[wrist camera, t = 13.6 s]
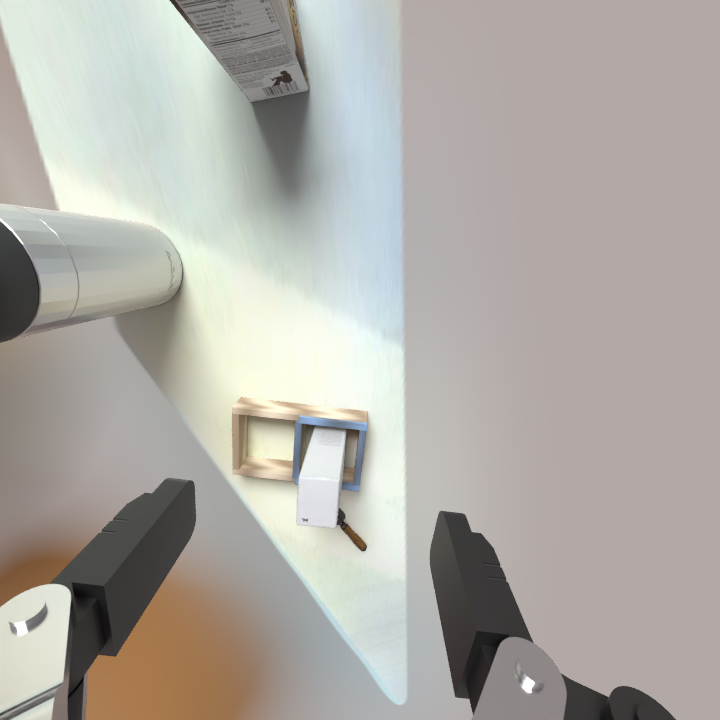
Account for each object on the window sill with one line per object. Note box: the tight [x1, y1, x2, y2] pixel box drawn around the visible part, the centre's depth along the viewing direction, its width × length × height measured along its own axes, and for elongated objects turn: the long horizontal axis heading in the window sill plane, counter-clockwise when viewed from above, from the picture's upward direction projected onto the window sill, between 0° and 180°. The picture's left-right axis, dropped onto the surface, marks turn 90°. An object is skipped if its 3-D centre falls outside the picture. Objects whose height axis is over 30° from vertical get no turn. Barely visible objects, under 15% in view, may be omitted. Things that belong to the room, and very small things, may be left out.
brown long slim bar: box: [337, 508, 367, 551], centre depth 48 cm, size 9×2×1 cm, turn 30°
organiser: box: [232, 397, 368, 491], centre depth 42 cm, size 16×10×4 cm, turn 84°
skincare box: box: [297, 425, 347, 528], centre depth 38 cm, size 6×4×12 cm
